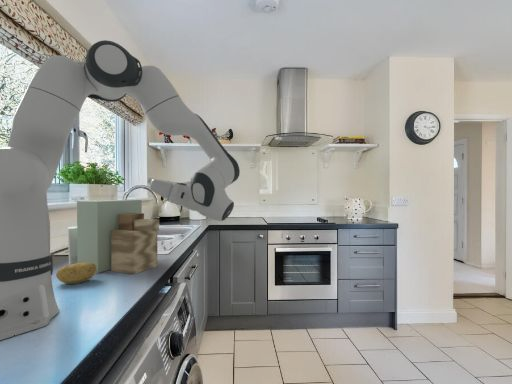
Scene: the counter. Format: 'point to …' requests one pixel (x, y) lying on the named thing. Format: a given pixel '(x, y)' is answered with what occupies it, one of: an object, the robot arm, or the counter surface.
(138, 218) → the walnut handle block
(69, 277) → the potato
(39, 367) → the counter surface
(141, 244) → the low oak block
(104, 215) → the large sage green box
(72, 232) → the skincare box
